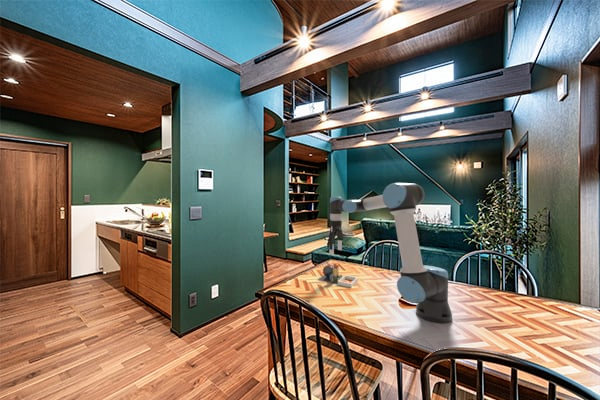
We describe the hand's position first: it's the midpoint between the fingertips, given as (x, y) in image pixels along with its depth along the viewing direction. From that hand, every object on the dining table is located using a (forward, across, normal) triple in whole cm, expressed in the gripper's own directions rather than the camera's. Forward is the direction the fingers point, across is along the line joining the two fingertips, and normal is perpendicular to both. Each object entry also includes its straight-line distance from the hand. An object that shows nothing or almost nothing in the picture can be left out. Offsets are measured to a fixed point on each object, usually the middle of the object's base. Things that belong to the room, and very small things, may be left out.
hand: (335, 252), depth 158 cm
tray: (+20, +1, -8) cm, 21 cm away
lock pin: (+19, 0, 0) cm, 19 cm away
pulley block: (+20, +1, +4) cm, 20 cm away
